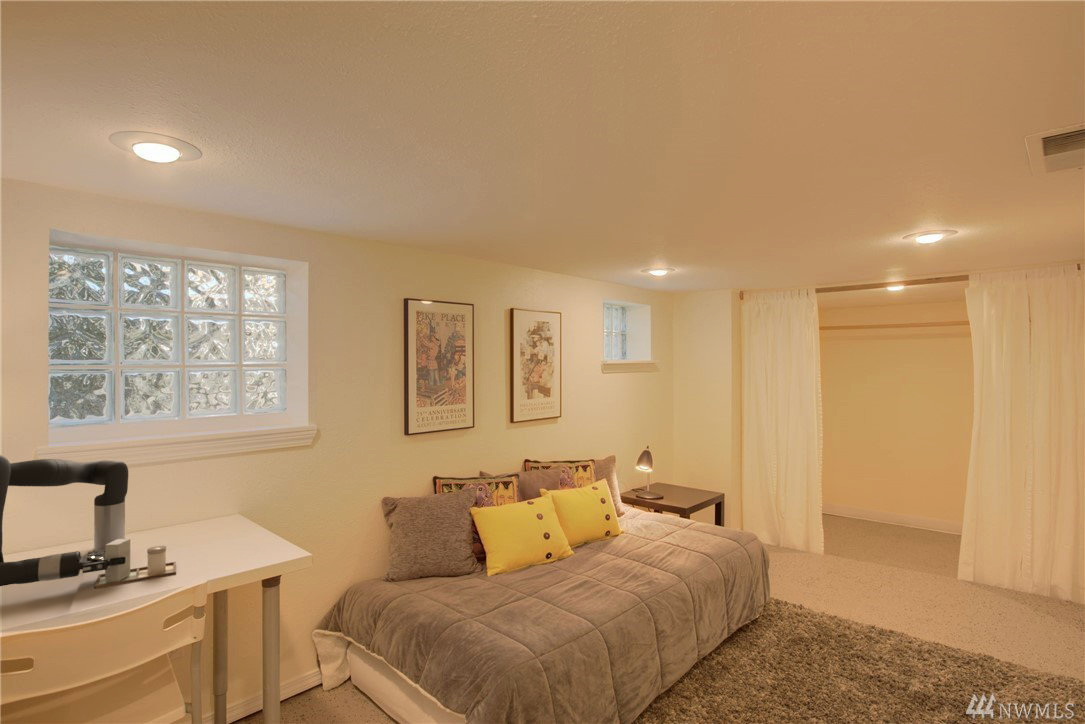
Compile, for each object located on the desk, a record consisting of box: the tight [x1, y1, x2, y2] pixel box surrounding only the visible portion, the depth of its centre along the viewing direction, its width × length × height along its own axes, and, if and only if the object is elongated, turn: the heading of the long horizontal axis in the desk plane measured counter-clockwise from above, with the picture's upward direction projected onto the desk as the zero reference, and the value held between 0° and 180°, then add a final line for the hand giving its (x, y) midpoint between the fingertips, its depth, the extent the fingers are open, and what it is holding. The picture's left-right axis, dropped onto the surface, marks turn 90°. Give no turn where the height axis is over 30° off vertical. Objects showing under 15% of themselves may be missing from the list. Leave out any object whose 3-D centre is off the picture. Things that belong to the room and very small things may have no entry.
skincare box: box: [104, 538, 131, 582], centre depth 180 cm, size 6×4×12 cm
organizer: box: [94, 561, 177, 589], centre depth 183 cm, size 11×21×2 cm, turn 124°
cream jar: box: [146, 545, 167, 575], centre depth 185 cm, size 5×5×8 cm
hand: (126, 556), depth 181 cm, fingers open, 7 cm apart
